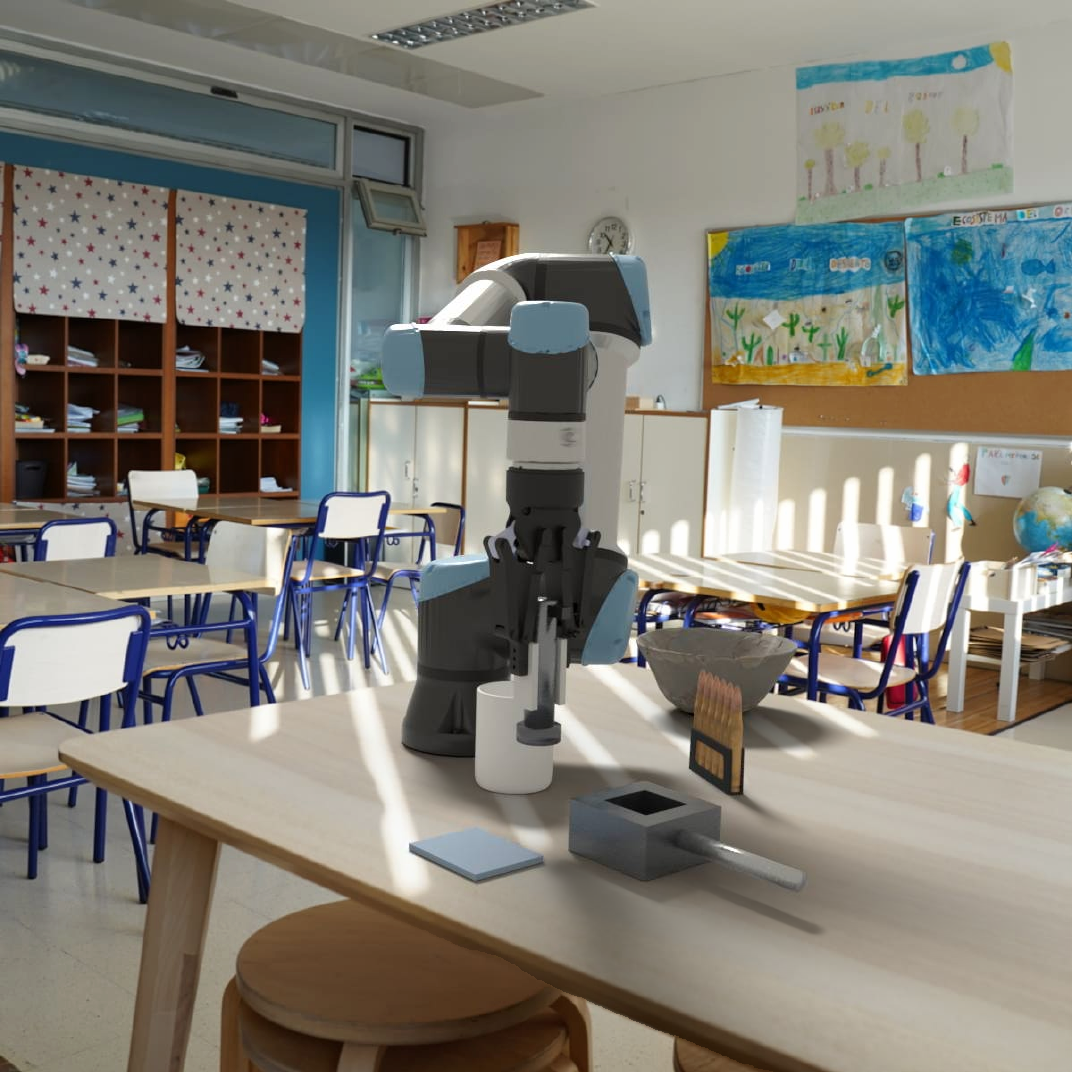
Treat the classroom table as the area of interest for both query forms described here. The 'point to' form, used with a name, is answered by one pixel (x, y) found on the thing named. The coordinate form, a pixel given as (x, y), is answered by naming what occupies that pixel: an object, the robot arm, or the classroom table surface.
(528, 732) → the key
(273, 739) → the classroom table surface
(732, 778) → the ammunition clip
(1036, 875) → the classroom table surface
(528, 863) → the mat
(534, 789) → the mug
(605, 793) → the block
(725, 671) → the ceramic bowl
